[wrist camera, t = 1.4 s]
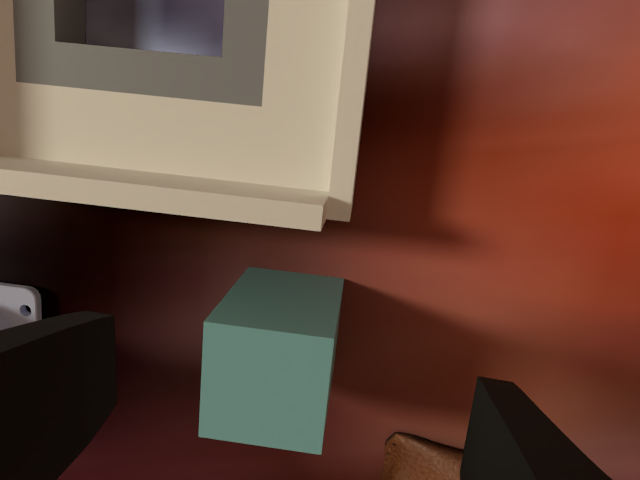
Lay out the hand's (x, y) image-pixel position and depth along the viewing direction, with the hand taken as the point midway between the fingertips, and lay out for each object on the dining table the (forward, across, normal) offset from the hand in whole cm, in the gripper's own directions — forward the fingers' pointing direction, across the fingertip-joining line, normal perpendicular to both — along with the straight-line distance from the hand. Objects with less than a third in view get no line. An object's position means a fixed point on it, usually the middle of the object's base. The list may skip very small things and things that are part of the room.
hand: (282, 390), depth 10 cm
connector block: (+11, +2, +4) cm, 12 cm away
